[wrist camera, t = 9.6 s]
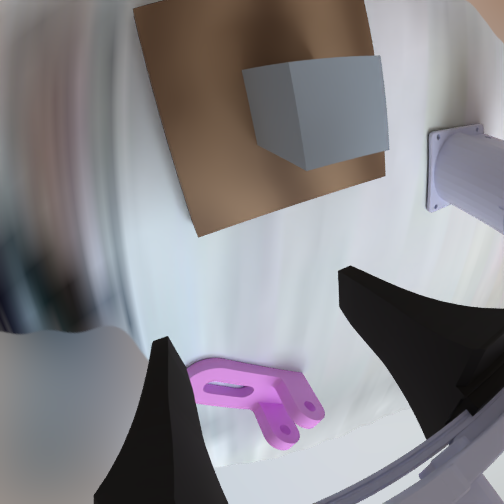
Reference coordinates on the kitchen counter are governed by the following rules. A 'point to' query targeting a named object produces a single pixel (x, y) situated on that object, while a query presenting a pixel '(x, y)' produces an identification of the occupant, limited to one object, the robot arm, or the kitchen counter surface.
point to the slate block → (319, 109)
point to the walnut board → (242, 98)
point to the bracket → (259, 396)
